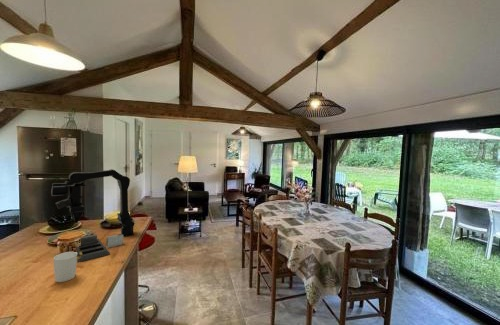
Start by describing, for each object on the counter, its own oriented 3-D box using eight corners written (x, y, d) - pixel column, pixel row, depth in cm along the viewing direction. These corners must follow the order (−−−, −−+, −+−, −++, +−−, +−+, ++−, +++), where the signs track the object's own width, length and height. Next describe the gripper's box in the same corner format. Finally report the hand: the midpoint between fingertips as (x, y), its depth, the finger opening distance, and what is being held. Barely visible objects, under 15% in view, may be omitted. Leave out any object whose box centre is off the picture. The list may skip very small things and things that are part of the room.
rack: (100, 242, 134) (101, 231, 134) (110, 254, 119) (110, 242, 119) (71, 248, 124) (71, 237, 124) (77, 262, 109) (78, 249, 109)
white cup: (49, 279, 94) (50, 256, 94) (71, 271, 101) (71, 250, 101) (58, 285, 91) (59, 261, 90) (80, 276, 98) (80, 254, 97)
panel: (121, 243, 134) (121, 233, 134) (123, 244, 133) (123, 234, 132) (106, 246, 129) (106, 236, 128) (107, 248, 127) (107, 237, 127)
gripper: (55, 193, 128) (54, 219, 128) (58, 198, 115) (58, 227, 115) (79, 191, 136) (78, 216, 136) (85, 196, 123) (84, 223, 123)
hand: (74, 220), depth 128 cm, fingers open, 9 cm apart
